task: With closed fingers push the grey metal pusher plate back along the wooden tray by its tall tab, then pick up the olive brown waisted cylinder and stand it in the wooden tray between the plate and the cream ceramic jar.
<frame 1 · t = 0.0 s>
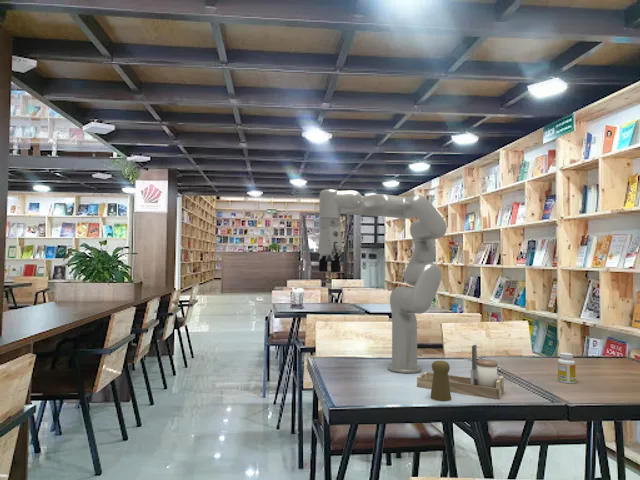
hand: (329, 271, 158), 37 cm above the table, tool pointing down, fingers open, 9 cm apart
pusher: (474, 367, 142), point 7 cm above the table, slide at 0.0 cm
supplement bottle: (566, 382, 155), on the table
olive brown waisted cylinder: (440, 398, 134), on the table
wooden tray: (459, 389, 144), on the table
jar: (487, 393, 139), resting in wooden tray
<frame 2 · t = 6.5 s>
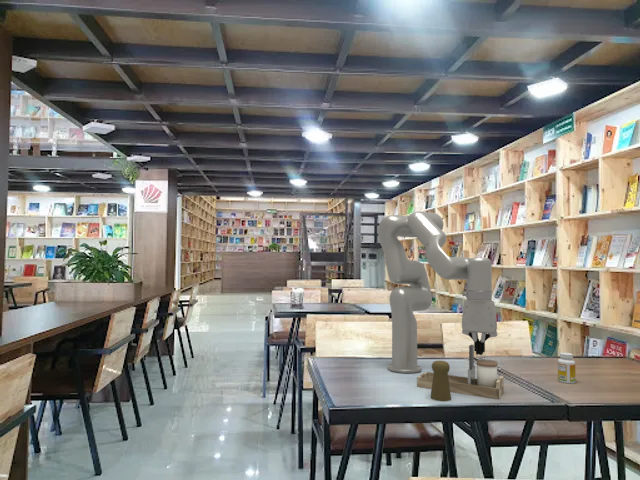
hand: (479, 354, 141), 12 cm above the table, tool pointing down, fingers closed
pusher: (471, 367, 142), point 7 cm above the table, slide at 0.9 cm, touching gripper
everything else where it was.
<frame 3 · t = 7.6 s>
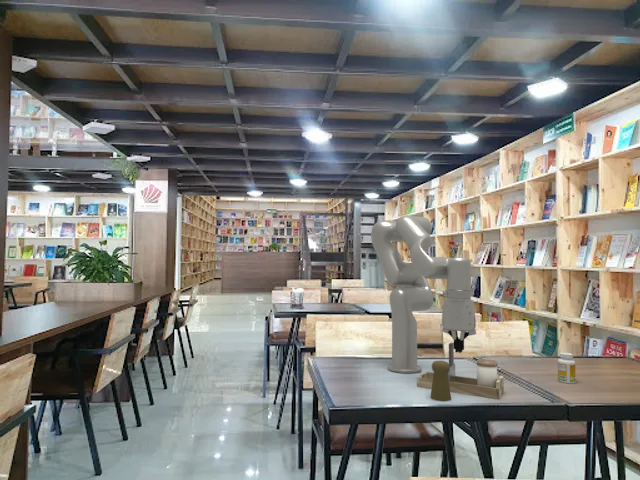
hand: (458, 351, 145), 12 cm above the table, tool pointing down, fingers closed
pusher: (451, 365, 145), point 7 cm above the table, slide at 7.4 cm, touching gripper
everything else where it was.
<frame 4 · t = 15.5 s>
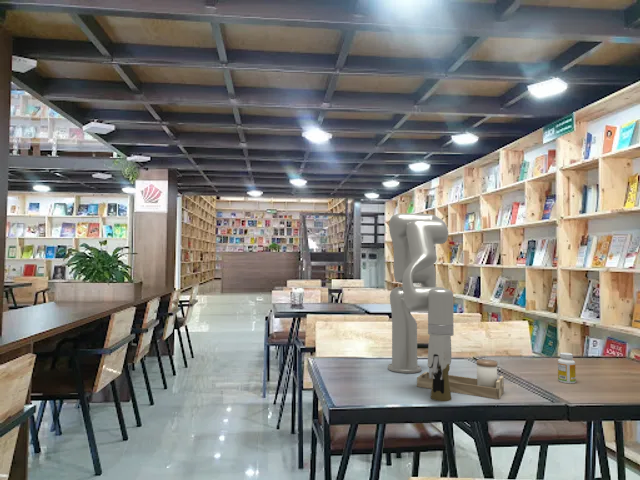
hand: (440, 390, 134), 2 cm above the table, tool pointing down, fingers closed on olive brown waisted cylinder, 4 cm apart
pusher: (433, 362, 148), point 7 cm above the table, slide at 13.2 cm
olive brown waisted cylinder: (440, 398, 134), on the table, touching gripper
everything else where it was.
when the fingers open (4 cm above the table, at t = 21.1 s): olive brown waisted cylinder stays where it is, resting in wooden tray.
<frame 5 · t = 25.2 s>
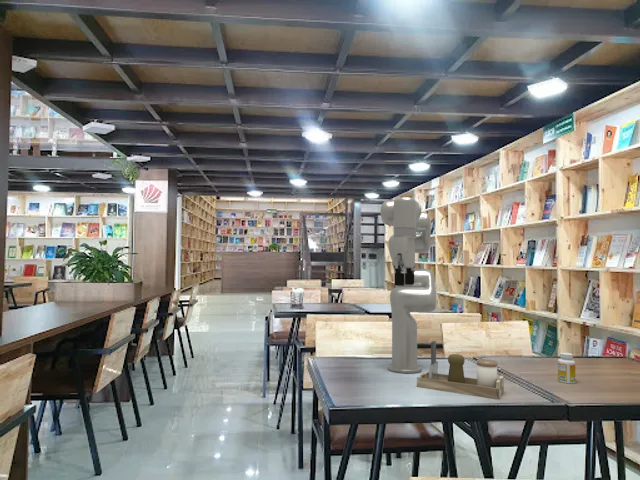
hand: (404, 285, 149), 33 cm above the table, tool pointing down, fingers open, 9 cm apart
olive brown waisted cylinder: (456, 389, 144), resting in wooden tray
everything else where it was.
at the end: olive brown waisted cylinder inside the target area on the wooden tray (0.8 cm from its centre), point 0.0 cm above the wooden tray's base; olive brown waisted cylinder tilted 0°; pusher slide at 13.2 cm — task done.
